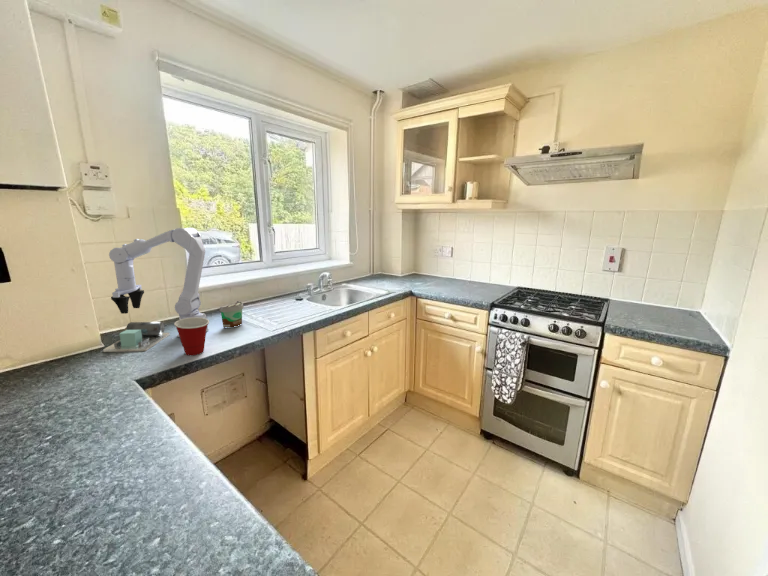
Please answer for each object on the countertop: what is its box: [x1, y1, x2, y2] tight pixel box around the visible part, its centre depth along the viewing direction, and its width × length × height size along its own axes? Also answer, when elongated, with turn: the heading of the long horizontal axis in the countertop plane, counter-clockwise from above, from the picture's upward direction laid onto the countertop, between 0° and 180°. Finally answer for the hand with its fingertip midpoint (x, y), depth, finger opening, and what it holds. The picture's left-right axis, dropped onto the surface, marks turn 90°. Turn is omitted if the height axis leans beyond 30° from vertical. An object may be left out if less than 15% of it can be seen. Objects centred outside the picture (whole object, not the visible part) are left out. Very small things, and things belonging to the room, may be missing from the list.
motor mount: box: [102, 321, 171, 353], centre depth 122 cm, size 14×16×7 cm
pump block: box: [118, 329, 142, 346], centre depth 118 cm, size 5×4×5 cm
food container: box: [219, 300, 245, 328], centre depth 144 cm, size 12×6×10 cm, turn 168°
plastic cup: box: [174, 317, 210, 356], centre depth 114 cm, size 11×11×12 cm
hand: (130, 310), depth 129 cm, fingers open, 7 cm apart
